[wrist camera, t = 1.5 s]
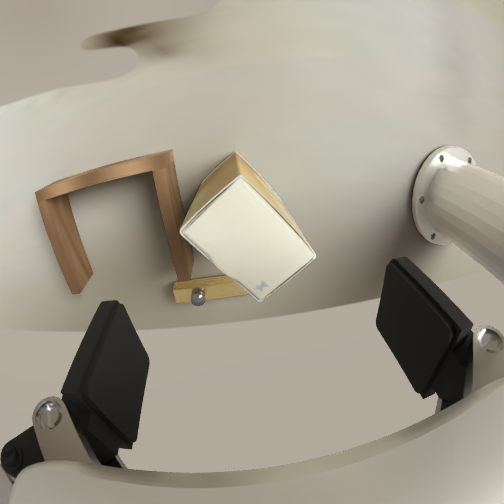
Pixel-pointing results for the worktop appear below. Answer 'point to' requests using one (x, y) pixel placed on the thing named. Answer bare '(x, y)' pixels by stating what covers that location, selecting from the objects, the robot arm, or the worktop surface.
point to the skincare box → (246, 229)
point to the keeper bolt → (206, 289)
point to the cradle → (55, 194)
